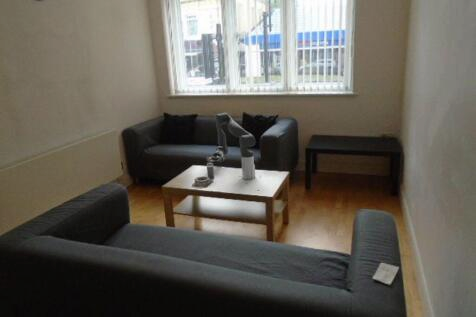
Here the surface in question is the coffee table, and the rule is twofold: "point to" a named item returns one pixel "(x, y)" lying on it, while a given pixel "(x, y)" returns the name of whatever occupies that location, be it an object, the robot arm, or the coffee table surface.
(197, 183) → the mount
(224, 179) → the coffee table surface
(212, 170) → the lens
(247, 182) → the coffee table surface
